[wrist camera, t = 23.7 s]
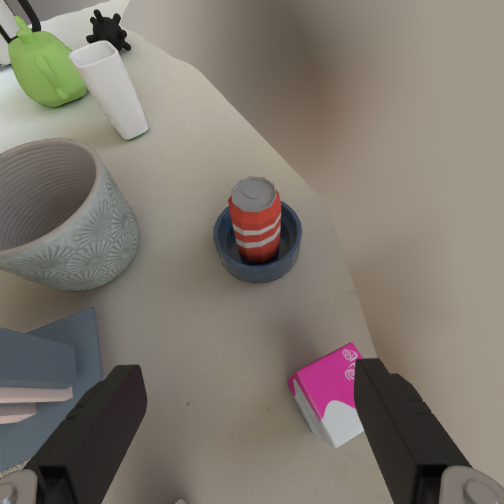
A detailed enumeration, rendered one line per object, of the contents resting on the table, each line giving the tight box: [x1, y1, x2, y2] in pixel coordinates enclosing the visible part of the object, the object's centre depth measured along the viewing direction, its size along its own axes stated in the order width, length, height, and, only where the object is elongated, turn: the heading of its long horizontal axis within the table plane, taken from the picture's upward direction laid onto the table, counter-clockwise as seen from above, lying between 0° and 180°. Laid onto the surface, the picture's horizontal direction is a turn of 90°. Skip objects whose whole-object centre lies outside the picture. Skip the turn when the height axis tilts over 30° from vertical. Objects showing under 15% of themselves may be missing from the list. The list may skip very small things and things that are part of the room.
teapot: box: [8, 16, 88, 107], centre depth 61 cm, size 22×15×13 cm
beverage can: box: [228, 177, 281, 263], centre depth 34 cm, size 6×6×12 cm
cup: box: [69, 40, 148, 140], centre depth 50 cm, size 7×7×15 cm
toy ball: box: [86, 9, 131, 52], centre depth 70 cm, size 11×11×12 cm
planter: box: [0, 138, 140, 291], centre depth 35 cm, size 17×17×15 cm
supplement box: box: [287, 342, 364, 448], centre depth 25 cm, size 6×6×12 cm
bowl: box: [213, 201, 302, 283], centre depth 38 cm, size 12×12×5 cm
